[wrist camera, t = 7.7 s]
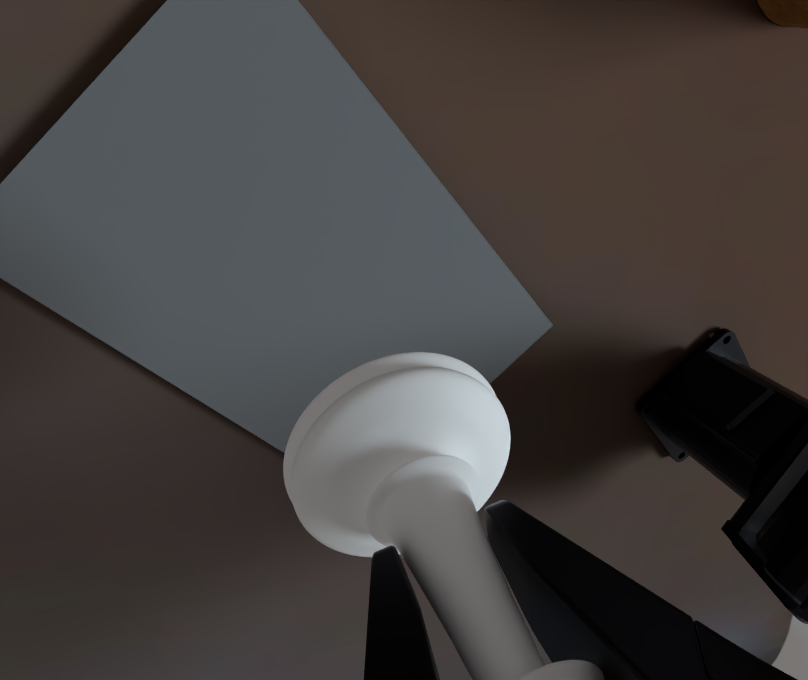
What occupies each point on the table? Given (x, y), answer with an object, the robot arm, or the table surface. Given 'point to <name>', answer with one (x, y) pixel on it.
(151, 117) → the slate mat
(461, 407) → the chess piece
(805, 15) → the disposable coffee cup
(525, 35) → the table surface
